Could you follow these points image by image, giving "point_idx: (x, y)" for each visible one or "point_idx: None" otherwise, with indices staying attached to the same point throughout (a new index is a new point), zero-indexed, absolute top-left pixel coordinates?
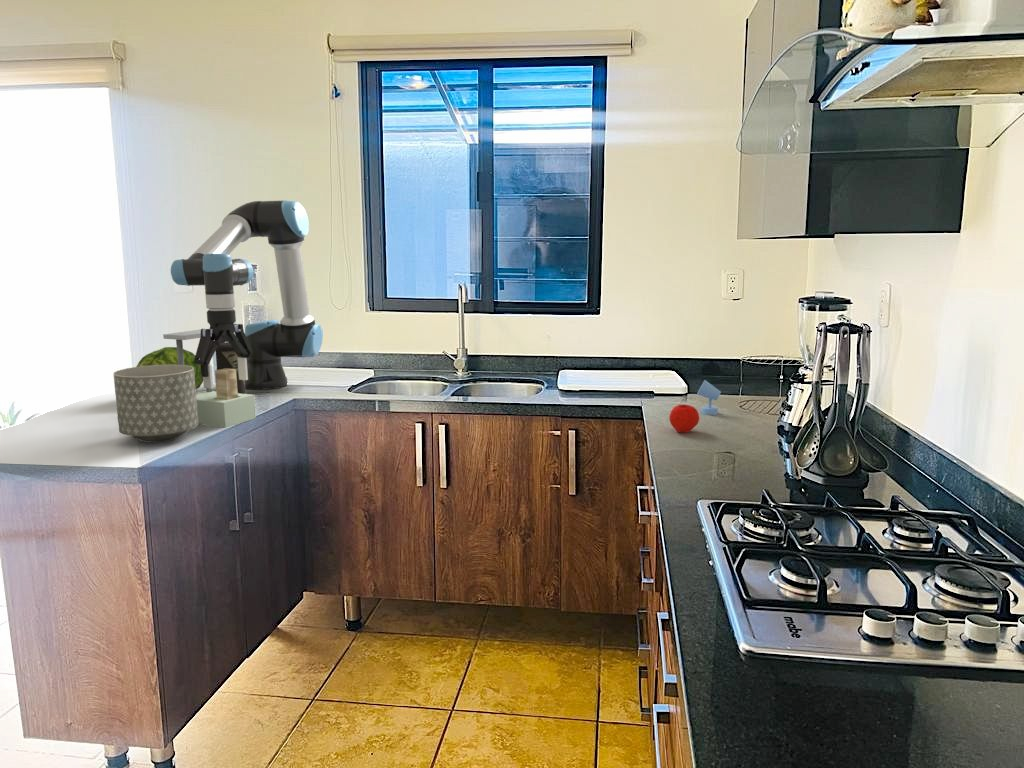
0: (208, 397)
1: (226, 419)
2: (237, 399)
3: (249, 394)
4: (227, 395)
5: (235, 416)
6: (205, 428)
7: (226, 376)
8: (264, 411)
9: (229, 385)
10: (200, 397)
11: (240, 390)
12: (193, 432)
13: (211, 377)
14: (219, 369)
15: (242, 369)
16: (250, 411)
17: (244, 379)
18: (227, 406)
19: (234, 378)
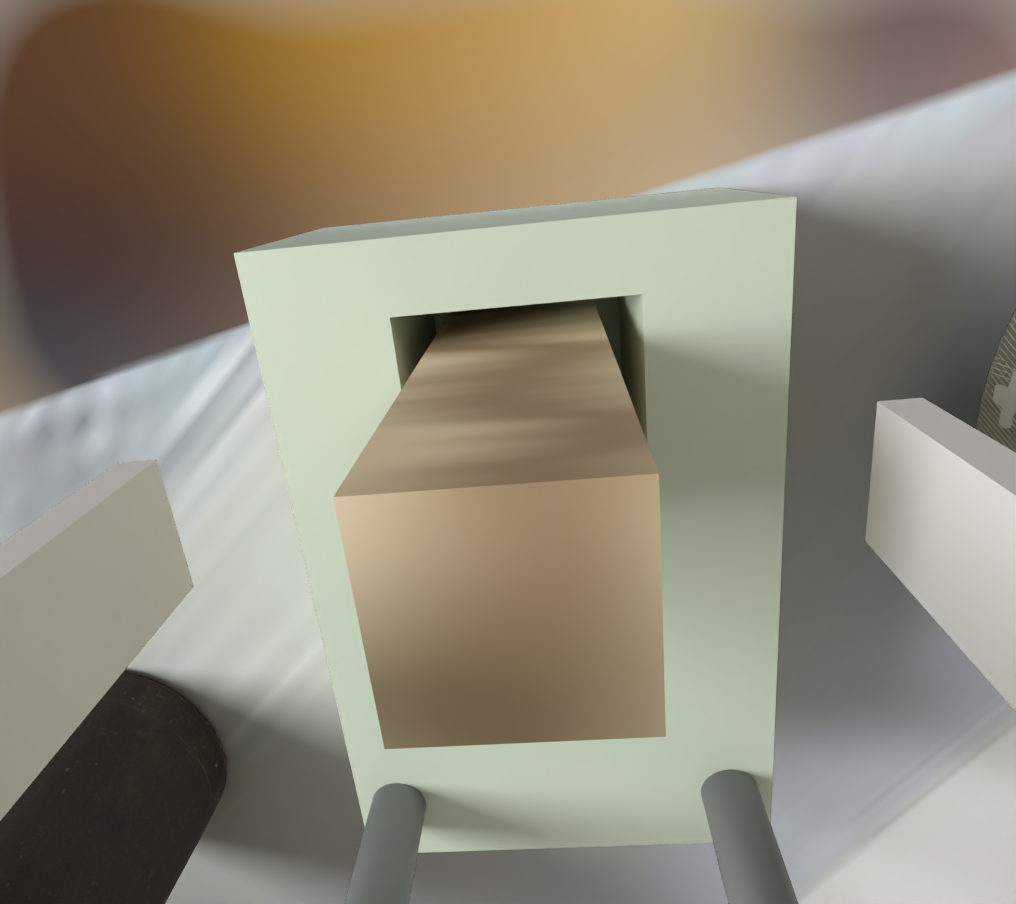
0: None
1: (718, 191)
2: (542, 223)
3: (256, 328)
4: (608, 343)
5: (588, 205)
6: (816, 325)
7: (632, 430)
8: (102, 383)
9: (563, 382)
10: None
11: None
12: (976, 296)
13: (1006, 467)
14: (538, 741)
15: (76, 606)
16: (368, 228)
17: (160, 496)
18: (721, 199)
19: (430, 422)
